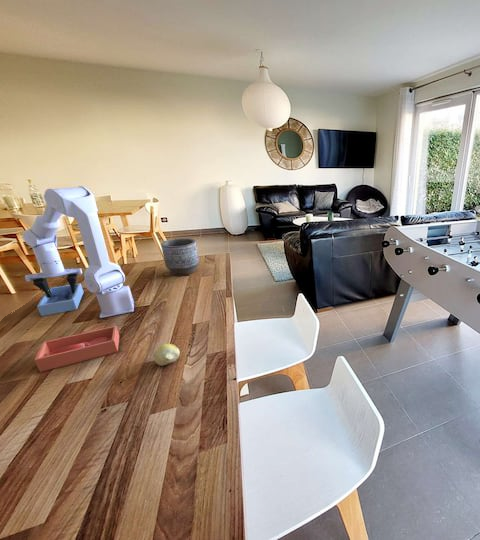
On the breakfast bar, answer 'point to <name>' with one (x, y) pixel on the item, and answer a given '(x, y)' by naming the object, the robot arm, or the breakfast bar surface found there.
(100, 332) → the red bin
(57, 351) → the red spoon
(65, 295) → the navy spoon
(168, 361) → the fruit
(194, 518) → the breakfast bar surface
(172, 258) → the planter
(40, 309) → the blue bin
